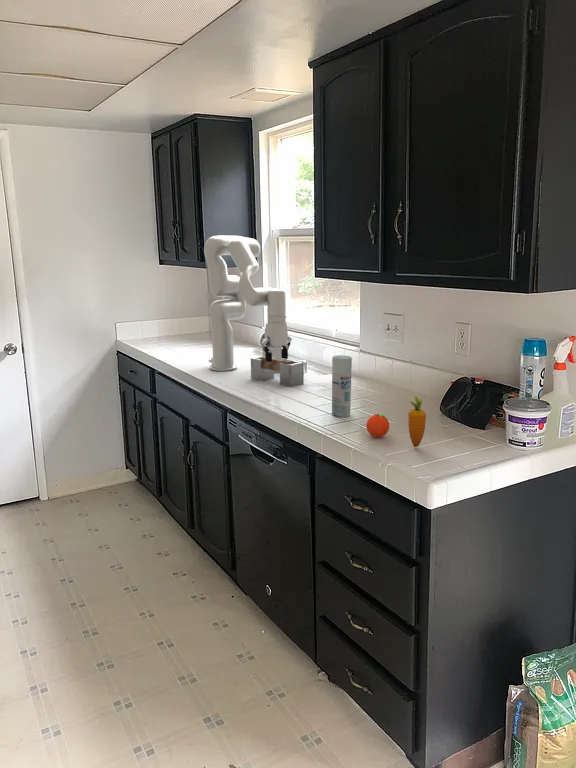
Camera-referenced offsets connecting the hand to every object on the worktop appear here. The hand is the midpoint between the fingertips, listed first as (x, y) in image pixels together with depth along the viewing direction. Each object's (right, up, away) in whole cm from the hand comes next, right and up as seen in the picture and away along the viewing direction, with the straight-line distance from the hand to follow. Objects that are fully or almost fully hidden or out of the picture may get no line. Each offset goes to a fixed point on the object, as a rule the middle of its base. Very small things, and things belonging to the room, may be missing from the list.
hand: (276, 360), depth 271 cm
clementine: (+32, -26, -75) cm, 86 cm away
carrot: (+41, -29, -85) cm, 99 cm away
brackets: (0, -9, +2) cm, 9 cm away
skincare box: (-2, -4, +24) cm, 25 cm away
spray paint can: (+23, -21, -50) cm, 59 cm away
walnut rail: (0, -4, +1) cm, 4 cm away
